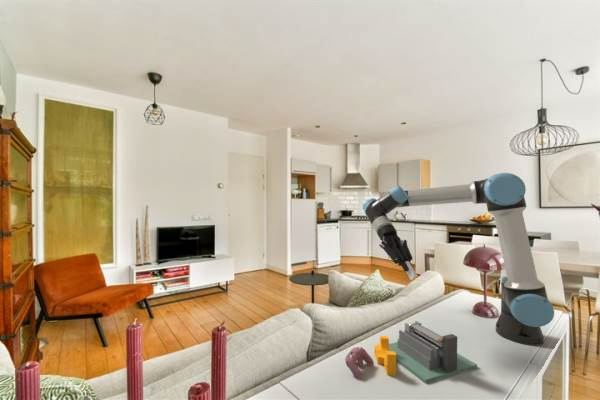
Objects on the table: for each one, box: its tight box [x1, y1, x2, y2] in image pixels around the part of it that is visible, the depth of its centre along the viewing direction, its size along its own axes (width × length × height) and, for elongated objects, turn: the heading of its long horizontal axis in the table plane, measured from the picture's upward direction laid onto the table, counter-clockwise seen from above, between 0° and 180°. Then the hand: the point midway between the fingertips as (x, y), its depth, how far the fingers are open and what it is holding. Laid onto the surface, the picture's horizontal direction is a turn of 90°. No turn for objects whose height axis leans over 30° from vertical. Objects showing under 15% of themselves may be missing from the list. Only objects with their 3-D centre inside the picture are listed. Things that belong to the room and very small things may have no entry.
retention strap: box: [409, 322, 443, 347], centre depth 95 cm, size 3×14×2 cm, turn 22°
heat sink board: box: [389, 320, 478, 384], centre depth 95 cm, size 22×20×11 cm
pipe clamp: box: [374, 335, 397, 377], centre depth 91 cm, size 12×4×6 cm, turn 175°
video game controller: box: [344, 346, 375, 379], centre depth 88 cm, size 10×5×7 cm, turn 141°
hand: (414, 278), depth 104 cm, fingers closed
